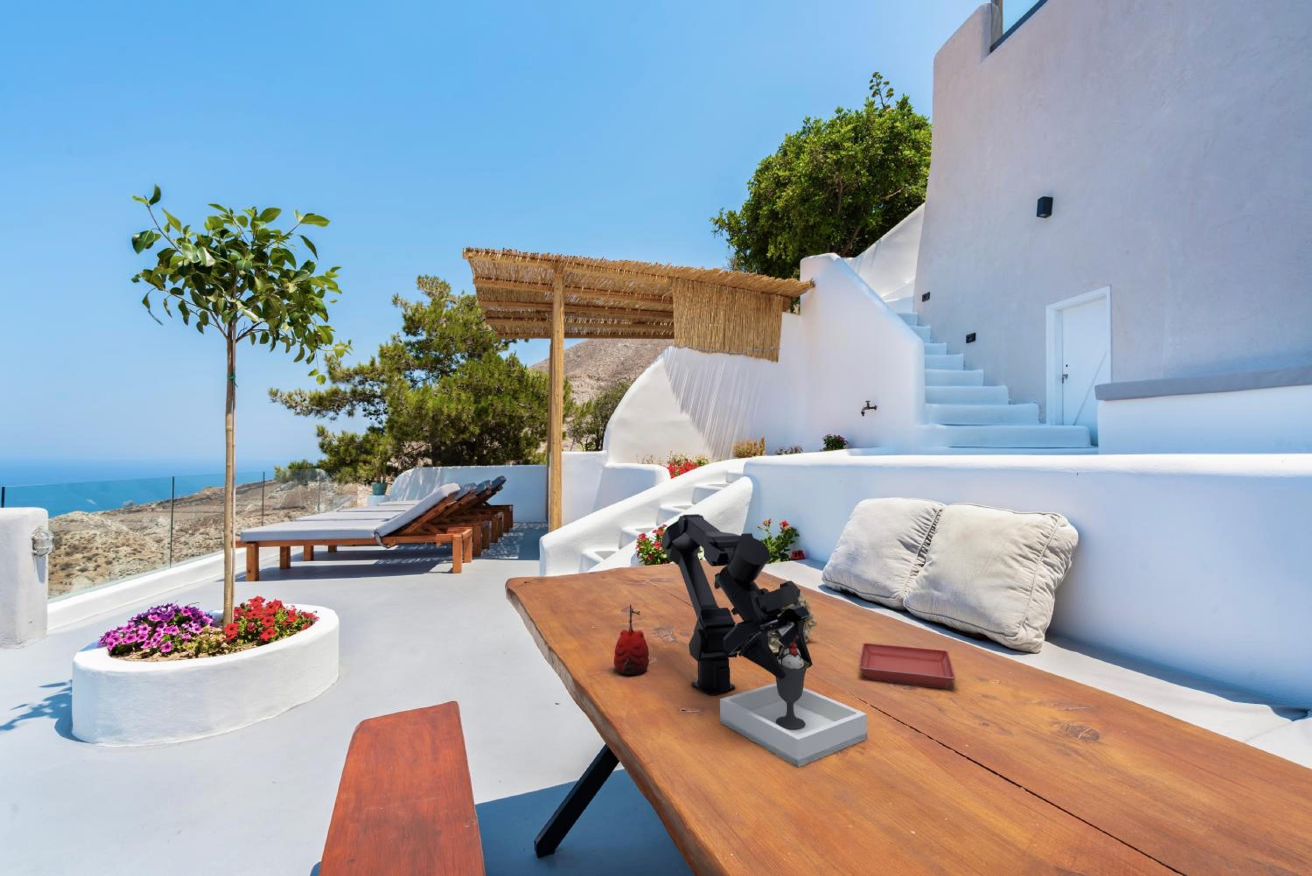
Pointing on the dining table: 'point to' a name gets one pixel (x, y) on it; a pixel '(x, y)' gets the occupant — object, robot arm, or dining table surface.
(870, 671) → the plant saucer
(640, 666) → the red fruit with stem
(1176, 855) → the dining table surface
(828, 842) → the dining table surface
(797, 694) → the sundae
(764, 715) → the tray
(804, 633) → the mineral formation
